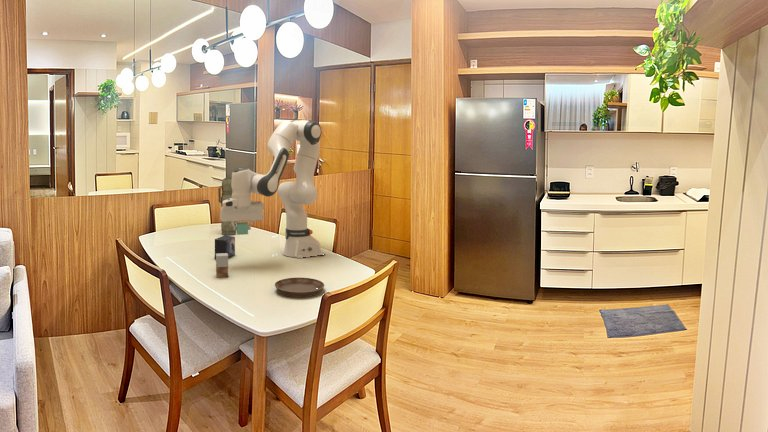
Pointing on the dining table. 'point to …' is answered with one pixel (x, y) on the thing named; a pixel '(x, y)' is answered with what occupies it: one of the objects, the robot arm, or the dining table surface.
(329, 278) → the dining table surface
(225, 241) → the small box
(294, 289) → the plant saucer
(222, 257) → the grey mid block
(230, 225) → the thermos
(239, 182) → the robot arm
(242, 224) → the teal cube
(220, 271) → the walnut base block
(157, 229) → the dining table surface
